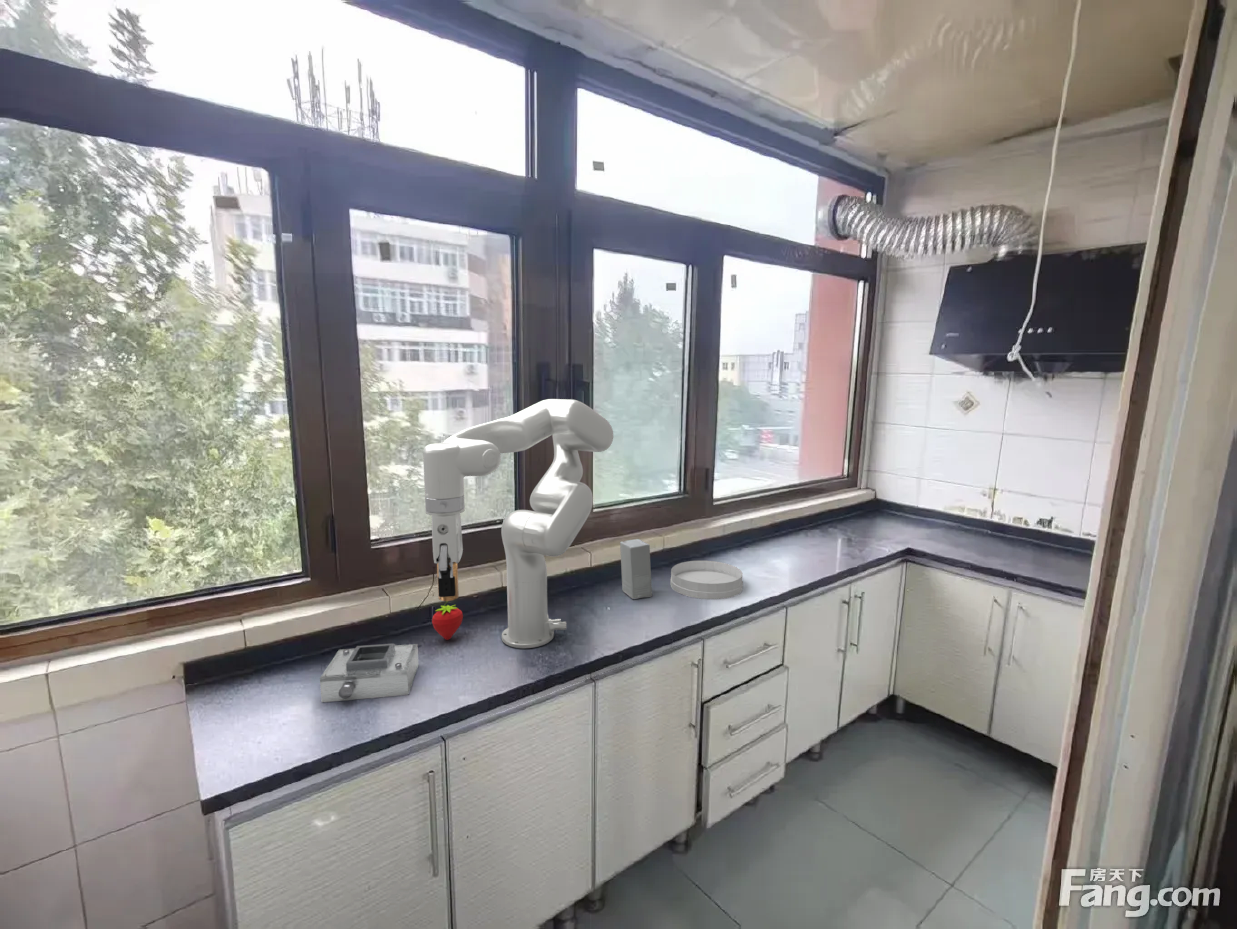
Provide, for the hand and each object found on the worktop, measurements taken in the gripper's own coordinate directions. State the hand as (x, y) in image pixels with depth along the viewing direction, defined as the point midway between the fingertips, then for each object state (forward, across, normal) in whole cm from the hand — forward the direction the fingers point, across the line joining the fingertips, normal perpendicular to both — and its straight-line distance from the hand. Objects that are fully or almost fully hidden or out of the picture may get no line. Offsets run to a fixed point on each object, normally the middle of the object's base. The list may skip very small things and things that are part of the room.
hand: (448, 591), depth 115 cm
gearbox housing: (+19, +1, +16) cm, 25 cm away
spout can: (+1, 0, 0) cm, 1 cm away
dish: (+20, +44, -71) cm, 86 cm away
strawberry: (+19, +19, +3) cm, 27 cm away
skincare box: (+19, +41, -48) cm, 66 cm away
